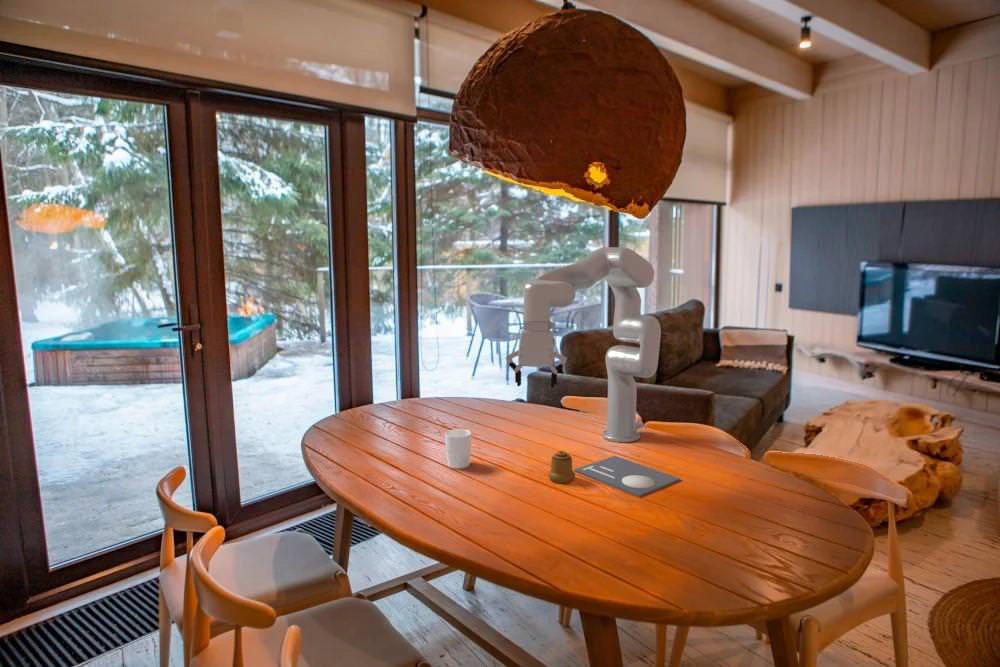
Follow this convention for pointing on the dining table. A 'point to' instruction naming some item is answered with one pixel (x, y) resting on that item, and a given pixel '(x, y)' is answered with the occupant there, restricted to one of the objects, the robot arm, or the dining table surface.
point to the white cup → (458, 448)
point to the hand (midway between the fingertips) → (535, 386)
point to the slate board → (627, 475)
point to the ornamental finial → (561, 468)
